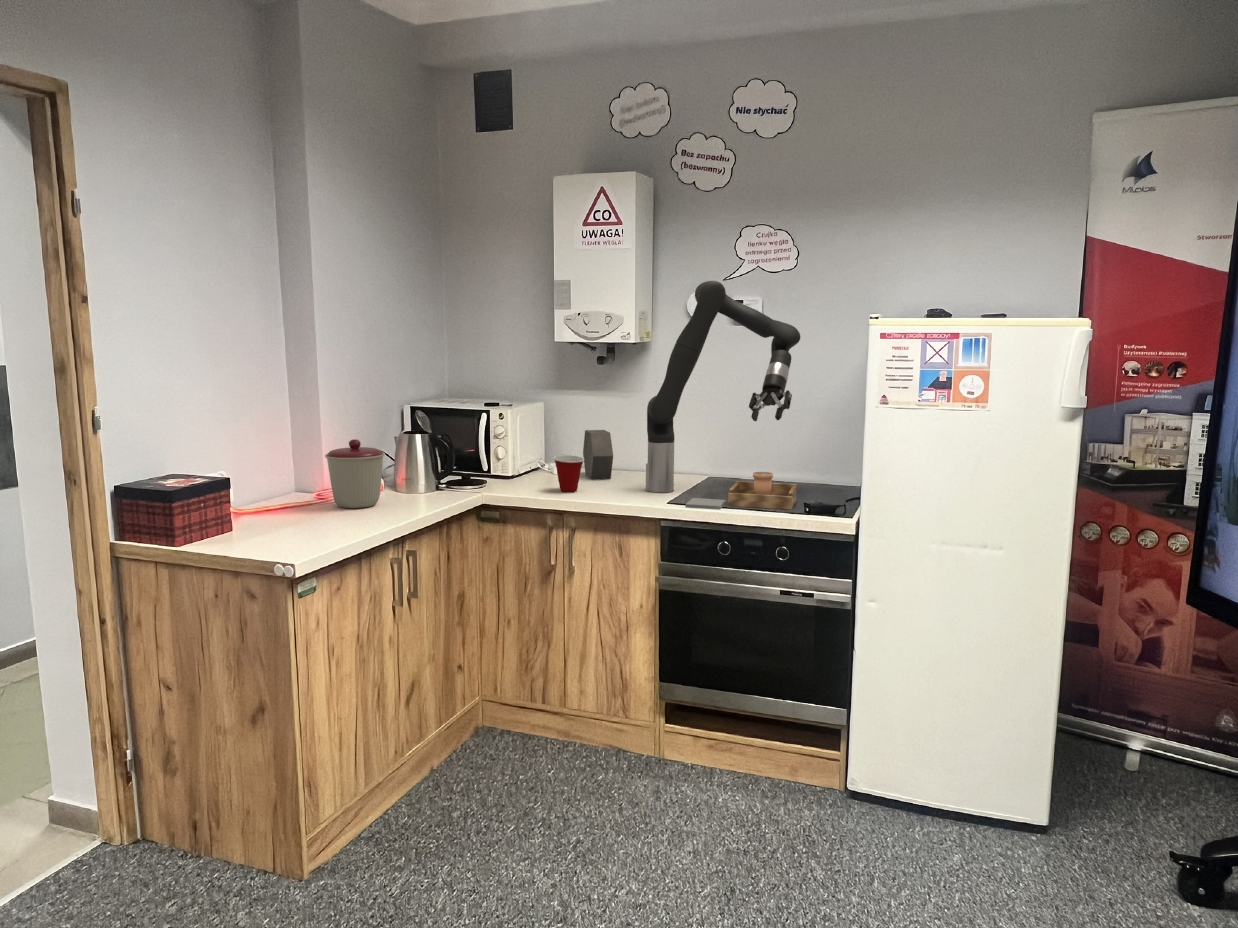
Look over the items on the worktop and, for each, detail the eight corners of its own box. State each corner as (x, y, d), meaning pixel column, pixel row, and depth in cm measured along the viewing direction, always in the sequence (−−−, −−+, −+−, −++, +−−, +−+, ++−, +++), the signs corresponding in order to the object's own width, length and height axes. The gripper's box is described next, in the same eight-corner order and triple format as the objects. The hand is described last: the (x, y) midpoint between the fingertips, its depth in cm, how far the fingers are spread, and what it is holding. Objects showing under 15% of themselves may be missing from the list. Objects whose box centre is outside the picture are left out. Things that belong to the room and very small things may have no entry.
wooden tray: (728, 505, 279) (728, 488, 278) (735, 497, 294) (736, 480, 293) (791, 509, 273) (792, 492, 273) (795, 500, 289) (796, 484, 288)
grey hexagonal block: (615, 469, 323) (608, 419, 331) (594, 469, 321) (588, 420, 329) (606, 487, 337) (600, 439, 346) (587, 488, 336) (581, 440, 344)
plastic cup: (566, 495, 296) (566, 460, 294) (547, 490, 304) (546, 456, 302) (591, 491, 303) (591, 457, 301) (571, 487, 311) (571, 454, 309)
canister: (396, 501, 282) (394, 437, 279) (368, 512, 265) (366, 443, 262) (346, 499, 286) (343, 435, 283) (315, 509, 269) (312, 441, 266)
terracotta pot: (750, 504, 281) (751, 474, 279) (753, 501, 287) (754, 471, 285) (771, 506, 279) (772, 475, 278) (773, 502, 285) (774, 472, 284)
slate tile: (685, 507, 276) (685, 504, 276) (692, 500, 287) (692, 498, 287) (719, 509, 273) (720, 506, 273) (725, 502, 284) (725, 499, 284)
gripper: (752, 374, 299) (741, 414, 293) (790, 371, 291) (780, 412, 284) (762, 386, 304) (751, 426, 298) (799, 383, 296) (789, 424, 290)
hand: (765, 419), depth 291 cm, fingers open, 8 cm apart
